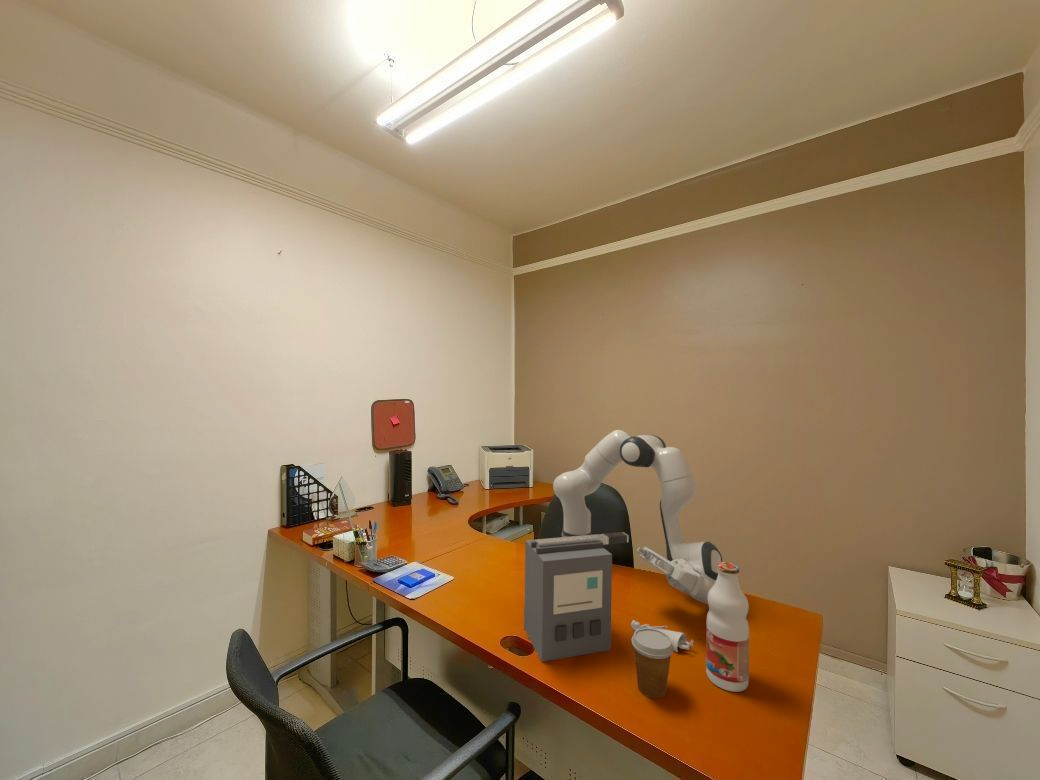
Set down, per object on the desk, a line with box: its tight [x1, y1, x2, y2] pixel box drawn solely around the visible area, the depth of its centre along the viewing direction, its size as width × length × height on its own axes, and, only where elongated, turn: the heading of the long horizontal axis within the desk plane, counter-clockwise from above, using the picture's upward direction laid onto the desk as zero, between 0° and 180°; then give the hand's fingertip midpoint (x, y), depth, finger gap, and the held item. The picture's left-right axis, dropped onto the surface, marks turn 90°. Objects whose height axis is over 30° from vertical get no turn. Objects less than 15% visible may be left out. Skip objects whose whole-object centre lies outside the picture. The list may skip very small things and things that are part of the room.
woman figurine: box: [630, 619, 694, 653], centre depth 117 cm, size 12×4×18 cm
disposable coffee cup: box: [630, 628, 674, 699], centre depth 97 cm, size 10×10×12 cm
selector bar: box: [535, 531, 630, 548], centre depth 119 cm, size 3×28×2 cm, turn 106°
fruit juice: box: [705, 561, 750, 693], centre depth 101 cm, size 9×9×28 cm
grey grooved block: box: [523, 535, 613, 663], centre depth 117 cm, size 17×20×27 cm
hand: (647, 555), depth 125 cm, fingers open, 8 cm apart
